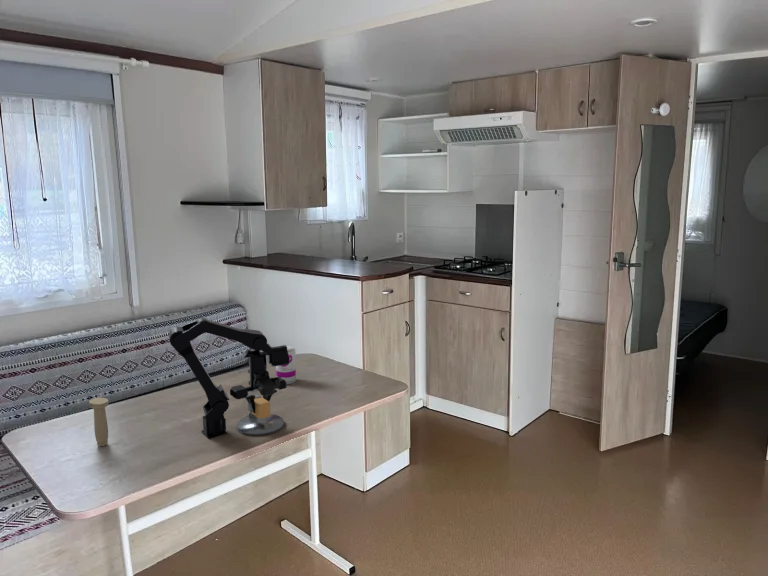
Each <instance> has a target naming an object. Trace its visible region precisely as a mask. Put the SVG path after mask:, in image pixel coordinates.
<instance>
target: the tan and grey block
mask: <svg viewBox="0 0 768 576" xmlns="http://www.w3.org/2000/svg"><path fill="white" fill-rule="evenodd" d="M254 396H255V399H254V402H255V413H253V412H252V410H251V408H250V405H249V403H248V402H247V411H248V412H252V414H253V415H255V416H256V417H257V418H259V419H262V418H266V417H269V416H270V414H271V402H270V401H267V400H265V399H264V398H263V396H262V395H261V396H260V395H259V394H255V395H254Z"/></svg>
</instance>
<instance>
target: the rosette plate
mask: <svg viewBox="0 0 768 576" xmlns="http://www.w3.org/2000/svg"><path fill="white" fill-rule="evenodd" d="M284 423H285V420H284V419H283V417H282V416H280V415H278V414H273V413H270V416H269V417H266V418H262V419H259V418H257V417H256V416H255V415H253V414H252V412H249V411H248V412H247V416H244V417H242V418H241V419H239V420H238V421H237V422H236V430H237V432H238V433H240V434H242V435H244V436H250V437H256V436H257V437H262V436H267V435H272V434H274V433H277V432H279V431H281V430H282V429H283V427H284Z"/></svg>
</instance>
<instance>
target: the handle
mask: <svg viewBox="0 0 768 576" xmlns="http://www.w3.org/2000/svg"><path fill="white" fill-rule="evenodd" d="M88 403H89V406H90V409H93V421H94V422H93V425H94V428H93V429H94V436H95V437H94V438H95V441H96V445H97V447H98V446H100V447H101V446H104V447H106V446H107V445H108V444H109V426H108V419H107V413H106V407H108V406H110V405H109V399H108V398H106V397H105V398H104V397H94V398H92V399H89V401H88ZM105 445H106V446H105Z"/></svg>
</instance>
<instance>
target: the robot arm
mask: <svg viewBox="0 0 768 576" xmlns="http://www.w3.org/2000/svg"><path fill="white" fill-rule="evenodd" d="M204 333H206V334H208V335H209V334H210V335H213V336H217V337H221V338H224V339H228V340H231V341H235V342H238V343H240V344H242V345H244V346H245V347H247V349H246V350H245V351H244V352H243V353H242V355H243V357H244V358H248V359H249V361H248V362H249V364H248V365H249V369H248V370H247V373H248V374H249V381H248V385H249V386H246V387H245V386H244V385H242V384H240V385H234V386H231V388H230V390H229V395H230V396H231V397H233V398H234V399H235V400H242V399H245V400H246V402H247V404H248V403H249V405H250V408H251V410H252V412H253V413H255V402H254V399H255V395H254V392H257V391H258V392H259V394H260V395H261V396H262V398H264V399H265V400H267V401H269V402H270V400H271V398H272V396H273V395H274V394H275V393H278V390H279V391H281V390H284V389H287V388H288V384H287V383H286V381H285V380H284V379H282V378H280V377H276V376H275V377H270V373H269V370H268V368H267V367H268V366H267V364H269V365H270V366H271V367H276V366H282V365H288V364H289V356H288V351H287V346H286V345H287V344H283V345H277V346H271V345H270V344H269V343H268V338H267V337H266V336H265V334H263V332H262V331H260V330H258V329H257V330H256V329H248V328H247V329H241V328H237V327H234V326H231V325H227V324H223V323H220V322H216V321H212V320H210V319H208V318H206V317H201V318H199V319H197V320H194V321H192V322H189V323H186V324H184V325H182V326H174V327H173V328H171V329H170V330H169V332H168V340H169V343H170V345H171V347H173V349H174V350H175V351H176V352H177V353H178V354H179V355H180V356H181V357H182V358H183V359H184V360H185V362H186V363H187V366H189V369H190V370H191V372H192V373H193V374H194V376H195V378H196V379H197V381H198V383H199V385H200V386H201V388H202V389H203V391H204V393H205V395H206V398H207V402H206V403H205V404H204V405H203V406H202V408H203V409H202V410H203V412H204V415H202V428H203V429H202V430H201V433H202V434H203V435H204V436H205V437H206V438H208V439H212V438H215V437H219V436H222V435H226V434H227V433H228V432H227V431H226V430H227V422H226V421H227V420H226V418H225V413H226V412H227V411H228V409H229V407H230V403H229V400H230V398H229V396H228V393H227V392H226V391H225V390H224V387H223V386H222V384H219V385H217V384H215V383H214V382H213V380H212V378H211V377H210V375H209V373H208V372H207V370H206V368H205V367H204V365H203V363H202V362H201V360H200V358H199V357H198V355H197V353H196V352H195V350H194V348H193V345H192V343H191V342H192V341H194V340H195V339H197V338H199V336H201V335H203V334H204Z"/></svg>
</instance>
